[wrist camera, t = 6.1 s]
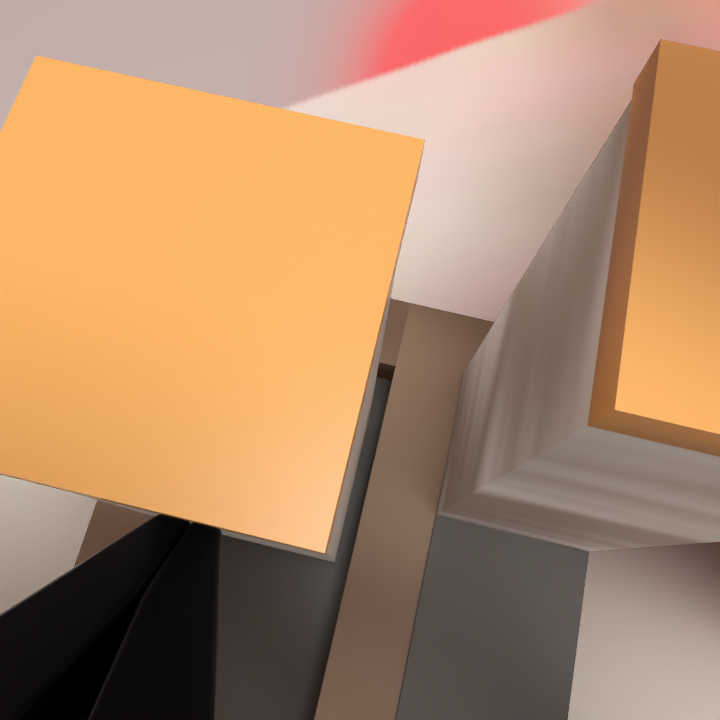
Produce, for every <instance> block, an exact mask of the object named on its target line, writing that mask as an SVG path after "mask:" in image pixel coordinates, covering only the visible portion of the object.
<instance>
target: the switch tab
mask: <svg viewBox="0 0 720 720" xmlns="http://www.w3.org/2000/svg"><path fill="white" fill-rule="evenodd" d="M424 142H425V140H423V139H418V138H413V137H409V136H404V135H400V134H395V133H390V132H386V131H381V130H377V129H372V128H367V127H363V126H358V125H354V124H349V123H344V122H340V121H335V120H331V119H326V118H321V117H317V116H312V115H308V114H303V113H298V112H294V111H289V110H285V109H280V108H275V107H271V106H266V105H261V104H257V103H252V102H248V101H243V100H239V99H234V98H229V97H225V96H220V95H216V94H211V93H206V92H202V91H197V90H193V89H188V88H183V87H179V86H174V85H169V84H165V83H160V82H156V81H151V80H146V79H142V78H137V77H133V76H128V75H123V74H119V73H114V72H110V71H105V70H100V69H96V68H91V67H87V66H82V65H77V64H73V63H68V62H63V61H59V60H55V59H50V58H45V57H41V56H36V58H35V60H34V62H33V64H32V66H31V68H30V70H29V72H28V74H27V77H26V79H25V81H24V83H23V85H22V87H21V90H20V92H19V94H18V96H17V98H16V100H15V102H14V104H13V106H12V109H11V111H10V113H9V115H8V117H7V119H6V121H5V123H4V126H3V128H2V130H1V132H0V475H4V476H8V477H13V478H17V479H21V480H25V481H29V482H33V483H37V484H41V485H45V486H49V487H53V488H57V489H61V490H65V491H69V492H72V493H76V494H79V495H83V496H86V497H90V498H93V499H96V500H100V501H103V502H107V503H110V504H114V505H117V506H121V507H124V508H128V509H131V510H134V511H138V512H141V513H145V514H148V515H152V516H156V515H159V514H162V515H166V516H170V517H174V518H178V519H182V520H187V521H189V522H190V524H191V523H193V522H195V523H199V524H203V525H207V526H211V527H215V528H219V529H221V531H222V535H226V536H230V537H234V538H238V539H242V540H246V541H250V542H254V543H258V544H262V545H266V546H270V547H274V548H278V549H282V550H286V551H290V552H294V553H298V554H302V555H306V556H310V557H314V558H318V559H323V560H327V561H331V562H335V560H336V556H337V552H338V548H339V544H340V539H341V535H342V531H343V527H344V522H345V518H346V514H347V510H348V506H349V501H350V497H351V493H352V489H353V484H354V480H355V476H356V472H357V468H358V463H359V459H360V455H361V451H362V446H363V442H364V438H365V434H366V430H367V425H368V421H369V415H370V410H371V404H372V399H373V393H374V388H375V382H376V376H377V371H378V365H379V360H380V354H381V348H382V343H383V337H384V332H385V326H386V321H387V315H388V309H389V304H390V298H391V293H392V287H393V281H394V276H395V270H396V265H397V261H398V257H399V253H400V249H401V245H402V240H403V236H404V232H405V228H406V224H407V220H408V216H409V211H410V207H411V203H412V199H413V195H414V191H415V187H416V182H417V178H418V173H419V168H420V163H421V158H422V153H423V147H424Z"/></svg>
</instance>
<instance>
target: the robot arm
mask: <svg viewBox="0 0 720 720" xmlns="http://www.w3.org/2000/svg"><path fill="white" fill-rule="evenodd" d="M221 544H222V531H221V529H219V528H215V527H211V526H207V525H203V524H199V523H195V522H193V523H191V524H190V522H189V521H187V520H182V519H178V518H174V517H170V516H166V515H162V514H159V515H156V516H154V517H153V518H151V519H149V520H148V521H146V522H145V523H143V524H142V525H140V526H138V527H137V528H135V529H134V530H132V531H131V532H129V533H127V534H126V535H124V536H123V537H121V538H120V539H118V540H116V541H115V542H113V543H112V544H110V545H109V546H107V547H105V548H104V549H102V550H101V551H99V552H98V553H96V554H94V555H93V556H91V557H90V558H88V559H87V560H85V561H83V562H82V563H80V564H79V565H77V566H76V567H74V568H72V569H71V570H69V571H68V572H66V573H65V574H63V575H61V576H60V577H58V578H57V579H55V580H54V581H52V582H50V583H49V584H47V585H46V586H44V587H43V588H41V589H39V590H38V591H36V592H35V593H33V594H32V595H30V596H28V597H27V598H25V599H24V600H22V601H21V602H19V603H18V604H16V605H14V606H13V607H11V608H10V609H8V610H7V611H5V612H3V613H2V614H0V720H215V702H216V676H217V649H218V623H219V597H220V571H221Z"/></svg>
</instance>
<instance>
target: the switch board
mask: <svg viewBox="0 0 720 720" xmlns="http://www.w3.org/2000/svg"><path fill="white" fill-rule="evenodd" d="M153 517H154V516H152V515H148V514H145V513H141V512H138V511H134V510H131V509H128V508H124V507H121V506H117V505H114V504H110V503H107V502H103V501H100V500H97V503H96V506H95V509H94V512H93V514H92V517H91V520H90V523H89V526H88V529H87V532H86V535H85V537H84V540H83V543H82V546H81V549H80V552H79V555H78V557H77V560H76V563H75V566H74V567H76V566H77V565H79V564H80V563H82V562H83V561H85V560H87V559H88V558H90V557H91V556H93V555H94V554H96V553H98V552H99V551H101V550H102V549H104V548H105V547H107V546H109V545H110V544H112V543H113V542H115V541H116V540H118V539H120V538H121V537H123V536H124V535H126V534H127V533H129V532H131V531H132V530H134V529H135V528H137V527H138V526H140V525H142V524H143V523H145V522H146V521H148V520H149V519H151V518H153ZM708 542H720V51H715V50H710V49H705V48H700V47H696V46H691V45H686V44H681V43H676V42H671V41H667V40H662V39H661V40H660V41H659V43H658V45H657V46H656V48H655V50H654V51H653V53H652V55H651V56H650V58H649V60H648V61H647V63H646V65H645V66H644V68H643V70H642V71H641V73H640V75H639V76H638V78H637V80H636V81H635V83H634V86H633V94H632V100H631V102H630V103H629V105H628V107H627V108H626V110H625V111H624V113H623V115H622V116H621V118H620V120H619V121H618V123H617V124H616V126H615V128H614V129H613V131H612V133H611V134H610V136H609V137H608V139H607V141H606V142H605V144H604V146H603V147H602V149H601V150H600V152H599V154H598V155H597V157H596V158H595V160H594V162H593V163H592V165H591V167H590V168H589V170H588V171H587V173H586V175H585V176H584V178H583V180H582V181H581V183H580V184H579V186H578V188H577V189H576V191H575V193H574V194H573V196H572V197H571V199H570V201H569V202H568V204H567V206H566V207H565V209H564V210H563V212H562V214H561V215H560V217H559V219H558V220H557V222H556V223H555V225H554V227H553V228H552V230H551V232H550V233H549V235H548V236H547V238H546V240H545V241H544V243H543V245H542V246H541V248H540V249H539V251H538V253H537V254H536V256H535V258H534V259H533V261H532V262H531V264H530V266H529V267H528V269H527V271H526V272H525V274H524V275H523V277H522V279H521V280H520V282H519V284H518V285H517V287H516V288H515V290H514V292H513V293H512V295H511V296H510V298H509V300H508V301H507V303H506V305H505V306H504V308H503V309H502V311H501V313H500V314H499V316H498V318H497V319H496V321H495V322H490V321H486V320H482V319H477V318H473V317H469V316H464V315H460V314H455V313H451V312H447V311H442V310H438V309H434V308H429V307H425V306H421V305H416V304H412V303H407V302H403V301H399V300H394V299H390V304H389V309H388V315H387V321H386V326H385V332H384V337H383V343H382V348H381V354H380V360H379V365H378V371H377V376H376V382H375V388H374V393H373V399H372V404H371V410H370V415H369V421H368V425H367V430H366V434H365V438H364V442H363V446H362V451H361V455H360V459H359V463H358V468H357V472H356V476H355V480H354V484H353V489H352V493H351V497H350V501H349V506H348V510H347V514H346V518H345V522H344V527H343V531H342V535H341V539H340V544H339V548H338V552H337V556H336V560H335V562H331V561H327V560H323V559H318V558H314V557H310V556H306V555H302V554H298V553H294V552H290V551H286V550H282V549H278V548H274V547H270V546H266V545H262V544H258V543H254V542H250V541H246V540H242V539H238V538H234V537H230V536H226V535H222V544H221V571H220V597H219V623H218V649H217V676H216V702H215V720H567V719H568V711H569V703H570V695H571V687H572V680H573V672H574V664H575V656H576V648H577V640H578V633H579V625H580V617H581V609H582V601H583V593H584V586H585V578H586V570H587V562H588V554H589V552H590V551H604V550H617V549H630V548H643V547H656V546H669V545H682V544H695V543H708Z"/></svg>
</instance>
